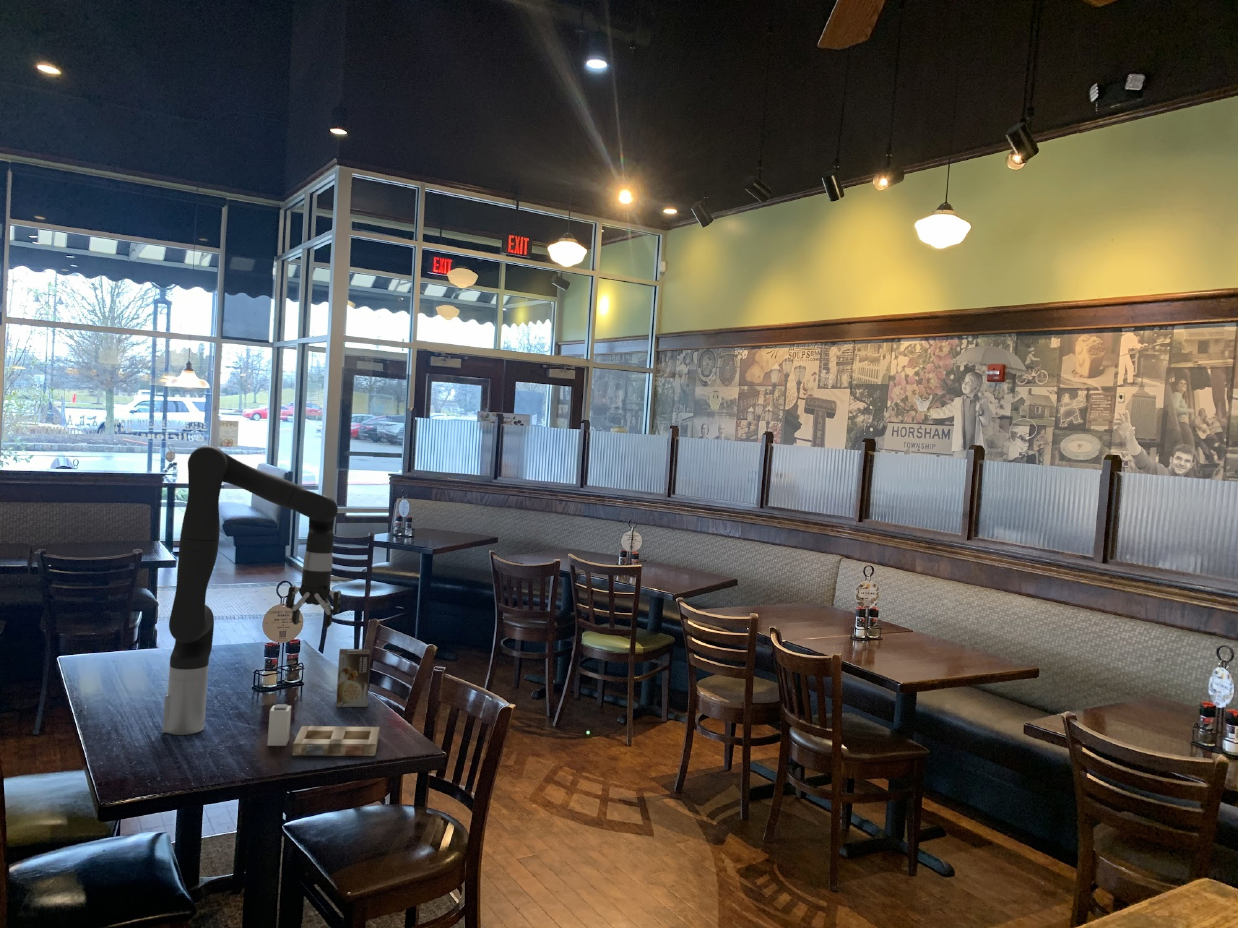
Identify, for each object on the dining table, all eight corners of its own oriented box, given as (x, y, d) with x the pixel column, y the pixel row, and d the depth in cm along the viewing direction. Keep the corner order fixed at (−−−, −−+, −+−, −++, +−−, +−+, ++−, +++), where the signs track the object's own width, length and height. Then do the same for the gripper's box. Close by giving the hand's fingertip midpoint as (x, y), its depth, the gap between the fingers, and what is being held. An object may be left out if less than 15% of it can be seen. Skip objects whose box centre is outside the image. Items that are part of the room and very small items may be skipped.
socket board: (292, 755, 217) (293, 744, 217) (301, 737, 231) (301, 725, 231) (374, 756, 221) (375, 744, 221) (378, 737, 235) (379, 726, 234)
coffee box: (367, 700, 265) (371, 648, 265) (367, 707, 259) (371, 653, 259) (336, 700, 263) (339, 648, 262) (335, 707, 257) (338, 653, 256)
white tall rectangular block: (267, 745, 223) (269, 708, 223) (270, 739, 227) (273, 703, 227) (285, 745, 224) (288, 708, 224) (288, 739, 228) (291, 703, 228)
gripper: (286, 566, 236) (280, 625, 237) (338, 572, 236) (332, 631, 236) (297, 563, 244) (291, 620, 244) (347, 568, 244) (341, 625, 244)
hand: (311, 625), depth 240 cm, fingers open, 8 cm apart
